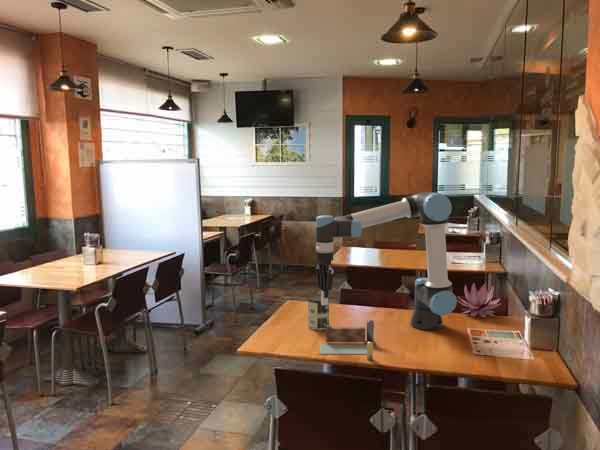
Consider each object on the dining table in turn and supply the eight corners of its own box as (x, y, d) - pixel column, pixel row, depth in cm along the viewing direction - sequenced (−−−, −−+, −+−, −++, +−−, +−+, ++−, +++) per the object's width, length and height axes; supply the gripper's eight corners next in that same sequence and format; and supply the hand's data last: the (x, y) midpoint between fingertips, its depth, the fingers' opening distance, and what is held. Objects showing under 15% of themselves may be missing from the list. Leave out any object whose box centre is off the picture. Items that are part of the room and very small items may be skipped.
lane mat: (365, 345, 203) (365, 344, 203) (368, 354, 193) (368, 353, 193) (319, 345, 204) (319, 344, 204) (319, 354, 194) (319, 353, 194)
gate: (364, 340, 206) (364, 325, 205) (365, 342, 204) (365, 326, 203) (326, 340, 207) (326, 324, 206) (326, 342, 204) (326, 326, 204)
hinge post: (375, 341, 207) (375, 319, 206) (376, 345, 203) (376, 323, 201) (363, 341, 208) (363, 319, 206) (364, 345, 203) (365, 323, 201)
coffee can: (330, 323, 231) (330, 295, 230) (327, 330, 221) (327, 301, 220) (309, 322, 234) (309, 294, 232) (306, 329, 224) (305, 300, 222)
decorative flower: (481, 324, 229) (482, 294, 227) (447, 312, 247) (447, 284, 245) (509, 317, 239) (511, 288, 237) (475, 306, 258) (476, 279, 256)
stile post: (372, 358, 189) (372, 341, 189) (373, 360, 187) (373, 343, 186) (366, 358, 189) (366, 341, 189) (367, 360, 187) (367, 343, 186)
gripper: (309, 249, 208) (309, 302, 211) (325, 254, 197) (325, 309, 200) (323, 248, 212) (323, 299, 215) (340, 252, 200) (340, 307, 203)
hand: (324, 304), depth 207 cm, fingers closed
